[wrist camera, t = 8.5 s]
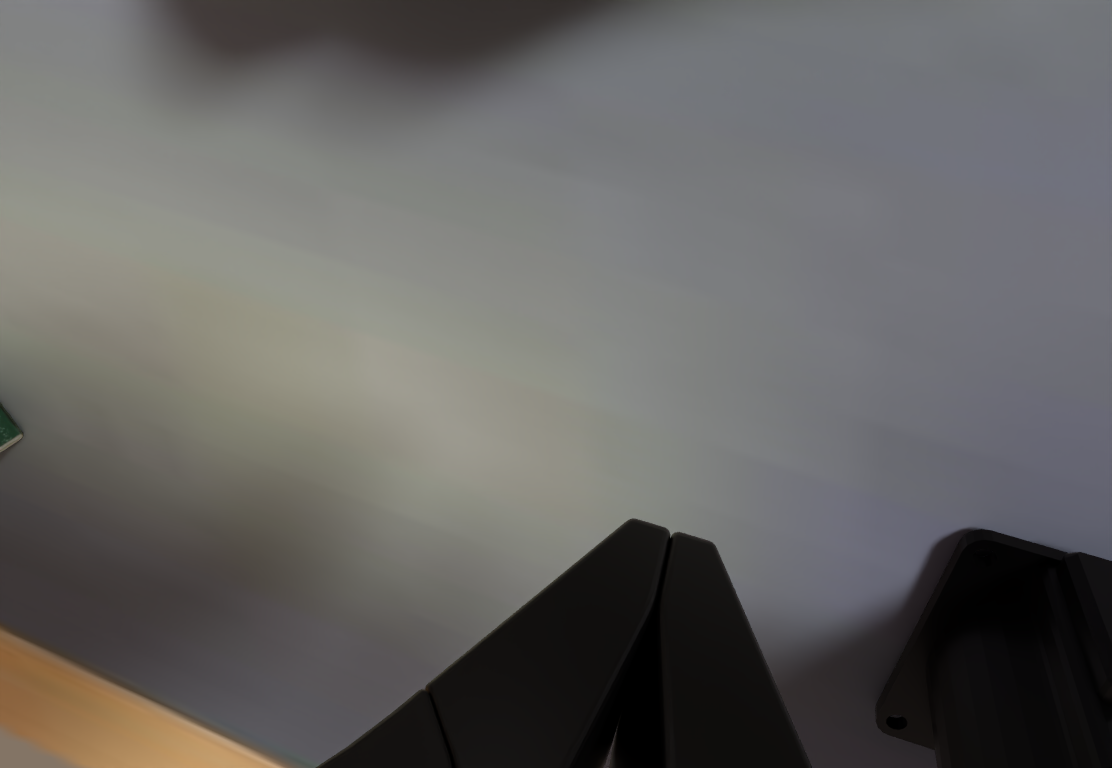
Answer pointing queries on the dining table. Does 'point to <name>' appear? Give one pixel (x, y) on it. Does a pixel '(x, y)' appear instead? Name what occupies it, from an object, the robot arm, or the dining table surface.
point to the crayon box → (8, 430)
